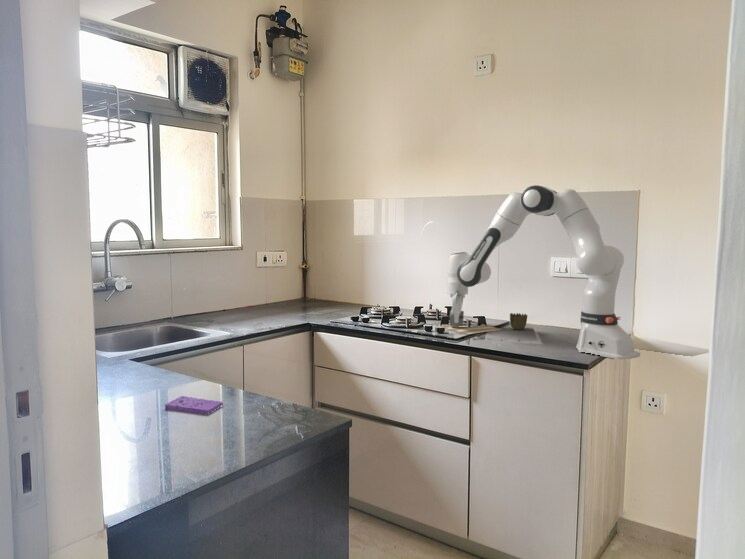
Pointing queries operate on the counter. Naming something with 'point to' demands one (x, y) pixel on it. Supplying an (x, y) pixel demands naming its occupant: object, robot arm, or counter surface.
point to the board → (471, 329)
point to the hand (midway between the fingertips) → (456, 321)
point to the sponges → (193, 405)
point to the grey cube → (459, 319)
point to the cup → (518, 321)
